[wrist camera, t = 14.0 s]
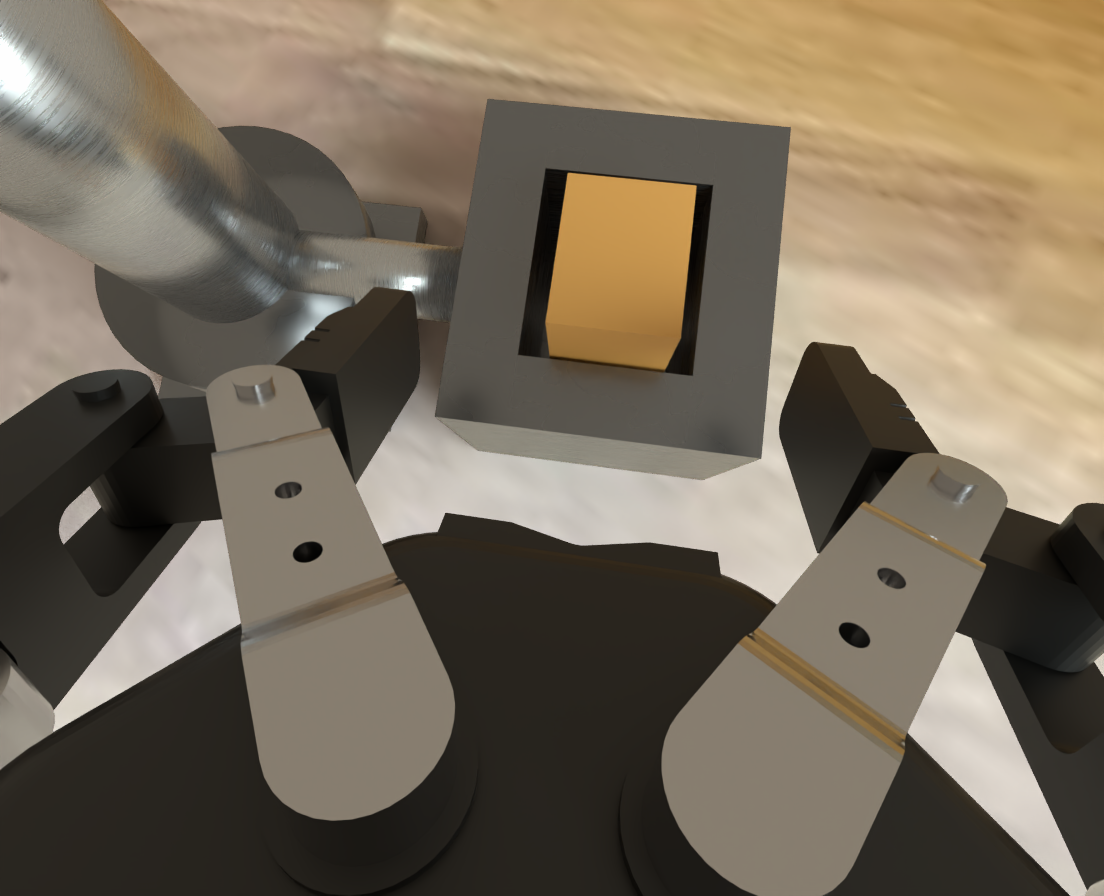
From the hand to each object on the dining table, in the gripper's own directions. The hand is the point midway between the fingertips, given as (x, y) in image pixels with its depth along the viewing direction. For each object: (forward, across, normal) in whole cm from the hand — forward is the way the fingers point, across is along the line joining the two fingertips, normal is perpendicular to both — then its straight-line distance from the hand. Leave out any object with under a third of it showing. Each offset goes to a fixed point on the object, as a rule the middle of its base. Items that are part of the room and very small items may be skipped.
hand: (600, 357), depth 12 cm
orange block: (+9, 0, +5) cm, 10 cm away
